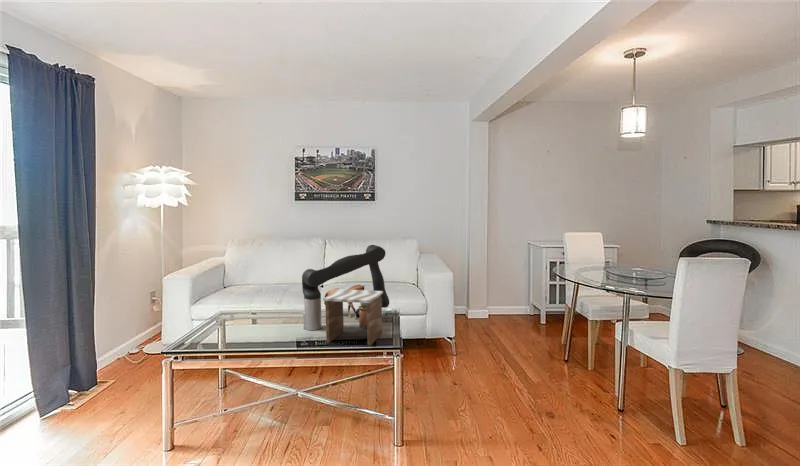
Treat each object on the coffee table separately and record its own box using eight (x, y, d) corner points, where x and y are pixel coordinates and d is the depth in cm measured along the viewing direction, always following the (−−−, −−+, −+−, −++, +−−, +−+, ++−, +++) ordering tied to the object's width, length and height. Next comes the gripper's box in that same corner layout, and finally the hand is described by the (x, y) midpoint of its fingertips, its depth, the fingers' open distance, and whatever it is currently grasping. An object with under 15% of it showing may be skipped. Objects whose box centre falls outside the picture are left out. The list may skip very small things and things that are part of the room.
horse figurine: (367, 318, 288) (366, 284, 286) (359, 321, 281) (359, 287, 279) (326, 312, 303) (325, 280, 301) (318, 315, 296) (317, 282, 294)
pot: (357, 327, 264) (356, 300, 262) (361, 323, 270) (360, 297, 269) (368, 328, 262) (368, 301, 260) (372, 324, 268) (371, 298, 267)
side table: (324, 343, 243) (323, 298, 241) (340, 330, 264) (339, 289, 262) (371, 346, 237) (370, 300, 235) (383, 333, 258) (383, 291, 256)
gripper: (360, 301, 281) (350, 309, 265) (384, 303, 277) (375, 310, 261) (361, 314, 281) (351, 322, 265) (384, 315, 278) (375, 324, 262)
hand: (363, 316), depth 263 cm, fingers closed on pot, 6 cm apart
